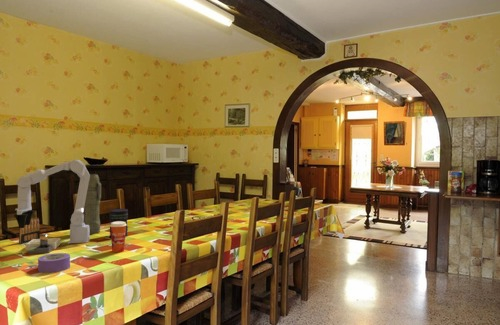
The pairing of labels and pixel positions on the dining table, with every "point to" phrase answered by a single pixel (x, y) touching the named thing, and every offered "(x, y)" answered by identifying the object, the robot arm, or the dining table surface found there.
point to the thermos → (93, 204)
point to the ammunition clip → (29, 232)
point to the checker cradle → (39, 250)
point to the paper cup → (118, 236)
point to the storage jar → (119, 217)
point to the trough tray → (53, 241)
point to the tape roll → (53, 262)
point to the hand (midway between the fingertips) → (24, 226)
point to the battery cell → (44, 240)
